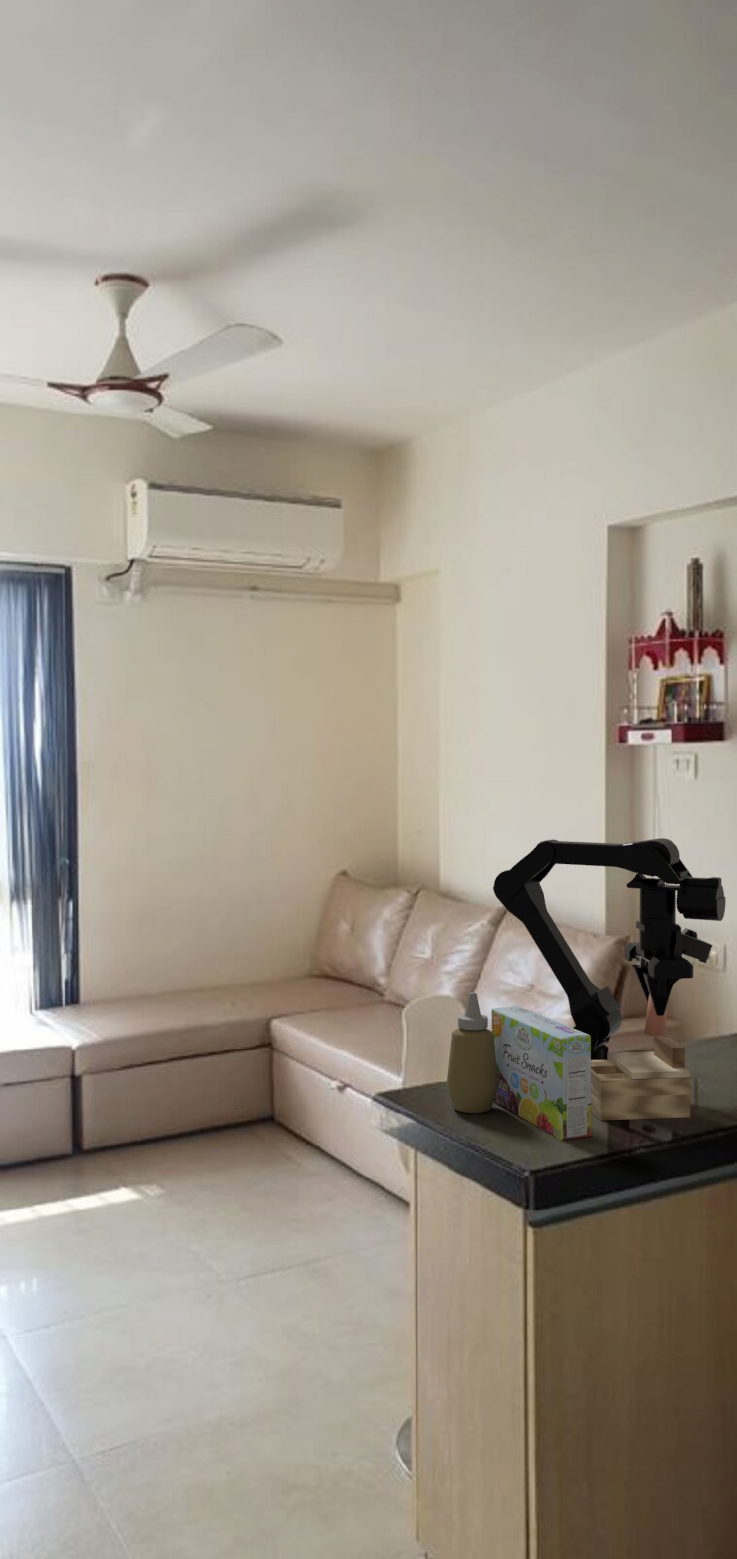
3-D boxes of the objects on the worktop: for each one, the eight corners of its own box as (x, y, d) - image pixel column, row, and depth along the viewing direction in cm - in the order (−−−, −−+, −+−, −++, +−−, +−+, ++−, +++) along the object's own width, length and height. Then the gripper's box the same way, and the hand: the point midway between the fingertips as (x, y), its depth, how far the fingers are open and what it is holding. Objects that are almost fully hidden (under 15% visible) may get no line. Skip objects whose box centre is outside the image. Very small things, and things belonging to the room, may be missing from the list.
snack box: (488, 1102, 199) (489, 1007, 198) (519, 1098, 201) (520, 1004, 200) (560, 1142, 179) (561, 1036, 179) (593, 1137, 181) (594, 1033, 181)
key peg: (646, 1035, 202) (652, 986, 202) (642, 1031, 205) (648, 982, 205) (666, 1038, 202) (672, 988, 202) (662, 1033, 205) (668, 985, 205)
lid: (662, 1057, 203) (663, 1032, 202) (690, 1077, 191) (691, 1051, 191) (607, 1058, 202) (607, 1034, 201) (632, 1079, 190) (632, 1052, 189)
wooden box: (662, 1094, 203) (662, 1057, 203) (690, 1117, 191) (690, 1077, 191) (577, 1097, 201) (578, 1060, 201) (600, 1120, 189) (601, 1080, 189)
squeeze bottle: (452, 1117, 190) (453, 999, 190) (441, 1102, 198) (441, 988, 198) (504, 1115, 192) (505, 997, 191) (491, 1100, 200) (491, 987, 199)
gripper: (726, 924, 194) (725, 1025, 195) (688, 908, 213) (688, 1000, 213) (655, 925, 193) (654, 1026, 194) (623, 909, 212) (623, 1001, 213)
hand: (657, 1013), depth 203 cm, fingers closed on key peg, 3 cm apart
